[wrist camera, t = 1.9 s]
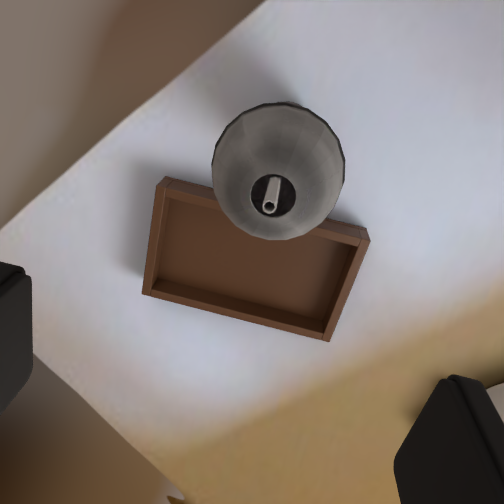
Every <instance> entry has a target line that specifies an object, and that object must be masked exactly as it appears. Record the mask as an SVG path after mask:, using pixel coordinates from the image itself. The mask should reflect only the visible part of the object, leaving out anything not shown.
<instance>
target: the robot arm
mask: <svg viewBox="0 0 504 504" xmlns="http://www.w3.org/2000/svg"><path fill="white" fill-rule="evenodd" d="M32 368H33V342H32V281H31V277H30V276H28V275H26V274H25V270H24V268H22V267H20V266H16V265H12V264H8V263H4V262H0V415H1V414H2V412H3V411H4V410H5V409H6V407H7V406H8V405H9V404H10V402H11V401H12V400H13V399H14V397H15V396H16V395H17V394H18V392H19V391H20V390H21V388H22V387H23V386H24V385H25V383H26V382H27V381H28V379H29V377H30V374H31V372H32ZM394 474H395V479H396V483H397V488H398V492H399V497H400V501H401V504H504V423H503V421H502V419H501V417H500V415H499V413H498V411H497V410H496V408H495V406H494V404H493V402H492V400H491V398H490V396H489V395H488V393H487V391H486V389H485V387H484V385H483V384H482V383H481V382H480V381H478V380H475V379H471V378H467V377H463V376H459V375H450V376H449V377H448V378H447V379H441V380H440V381H439V382H438V384H437V385H436V387H435V389H434V390H433V392H432V394H431V396H430V397H429V399H428V401H427V402H426V404H425V406H424V408H423V409H422V411H421V413H420V414H419V416H418V418H417V419H416V421H415V423H414V425H413V426H412V428H411V430H410V431H409V433H408V435H407V437H406V438H405V440H404V442H403V443H402V445H401V447H400V448H399V450H398V452H397V454H396V456H395V459H394Z"/></svg>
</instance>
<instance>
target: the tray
mask: <svg viewBox="0 0 504 504" xmlns="http://www.w3.org/2000/svg"><path fill="white" fill-rule="evenodd" d="M370 242H371V241H370V238H369V235H368V232H367V229H366V228H363V227H359V226H355V225H352V224H348V223H344V222H340V221H336V220H332V219H329V218H325V219H324V220H323V222H322V223H320V224H319V225H318V226H316V227H315V228H313V229H312V230H310V231H309V232H307V233H306V234H304V235H301V236H297V237H294V238H291V239H288V240H266V239H263V238H259V237H256V236H252V235H250V234H248V233H246V232H245V231H243V230H242V229H240V228H239V227H237V226H235V225H234V223H233V222H232V221H231V220H230V219H229V218H228V217H227V215H226V214H225V213H224V212H223V211H222V209H221V207H220V205H219V202H218V200H217V198H216V196H215V193H214V188H210V187H206V186H202V185H198V184H194V183H191V182H187V181H183V180H179V179H175V178H171V177H168V176H165V177H164V178H163V179H162V180H161V181H160V182H159V183H158V184H157V185H156V192H155V199H154V207H153V214H152V221H151V229H150V236H149V243H148V251H147V258H146V265H145V273H144V280H143V287H142V294H143V295H147V296H151V297H155V298H159V299H163V300H166V301H170V302H174V303H178V304H182V305H186V306H190V307H194V308H198V309H201V310H205V311H209V312H213V313H217V314H221V315H225V316H229V317H233V318H237V319H240V320H244V321H248V322H252V323H256V324H260V325H264V326H268V327H272V328H276V329H279V330H283V331H287V332H291V333H295V334H299V335H303V336H307V337H311V338H315V339H318V340H323V341H326V342H330V339H331V337H332V334H333V332H334V330H335V327H336V325H337V322H338V320H339V317H340V315H341V312H342V310H343V308H344V305H345V303H346V300H347V298H348V295H349V293H350V290H351V288H352V286H353V283H354V281H355V278H356V276H357V273H358V271H359V268H360V266H361V264H362V261H363V259H364V256H365V254H366V251H367V249H368V246H369V244H370Z"/></svg>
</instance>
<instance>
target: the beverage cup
mask: <svg viewBox="0 0 504 504" xmlns="http://www.w3.org/2000/svg"><path fill="white" fill-rule="evenodd" d="M211 166H212V178H213V187H214V193H215V196H216V198H217V200H218V202H219V205H220V207H221V209H222V211H223V212H224V213H225V214H226V215H227V217H228V218H229V219H230V220H231V221H232V222H233V223H234V225H235V226H237V227H239V228H240V229H242V230H243V231H245V232H246V233H248V234H250V235H252V236H256V237H259V238H263V239H266V240H288V239H291V238H294V237H297V236H301V235H304V234H306V233H307V232H309V231H310V230H312V229H313V228H315V227H316V226H318V225H319V224H320V223H322V222H323V220H324V219H325V218H326V217H327V215H328V214H329V213H330V212H331V210H332V209H333V208H334V206H335V204H336V201H337V199H338V197H339V194H340V191H341V189H342V186H343V183H344V180H345V157H344V154H343V151H342V147H341V144H340V141H339V139H338V137H337V136H336V134H335V133H334V132H333V130H332V129H331V127H330V126H329V125H328V123H327V122H326V121H325V120H323V119H322V118H321V117H319V116H318V115H316V114H315V113H313V112H312V111H311V110H309V109H307V108H304V107H302V106H300V105H299V104H296V103H292V102H289V101H288V102H277V103H265V104H261V105H259V106H256V107H254V108H251V109H249V110H246V111H244V112H242V113H241V114H240V115H239V116H238V117H236V118H235V119H234V120H233V121H232V122H231V123H229V124H228V125H227V126H226V128H225V129H224V131H223V133H222V134H221V136H220V138H219V140H218V141H217V143H216V145H215V150H214V155H213V159H212V164H211Z"/></svg>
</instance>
